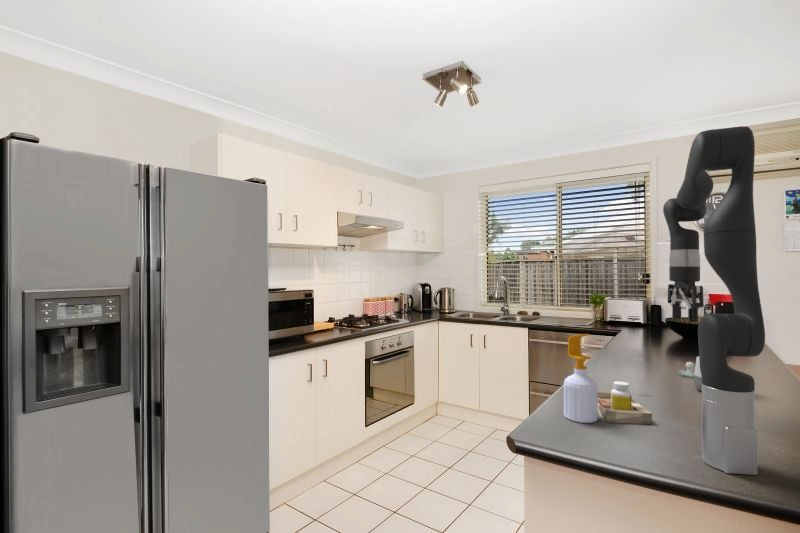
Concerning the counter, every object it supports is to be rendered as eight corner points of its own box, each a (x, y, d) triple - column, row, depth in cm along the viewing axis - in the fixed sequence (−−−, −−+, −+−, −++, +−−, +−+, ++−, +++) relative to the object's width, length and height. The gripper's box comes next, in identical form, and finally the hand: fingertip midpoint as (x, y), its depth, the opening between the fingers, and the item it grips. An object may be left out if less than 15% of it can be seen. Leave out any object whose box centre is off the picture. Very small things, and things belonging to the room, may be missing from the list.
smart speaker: (705, 387, 152) (705, 349, 152) (733, 394, 144) (733, 353, 144) (687, 390, 149) (687, 350, 149) (715, 397, 140) (715, 355, 140)
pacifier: (681, 374, 172) (678, 376, 168) (681, 359, 172) (678, 360, 168) (703, 377, 167) (700, 380, 163) (703, 362, 167) (700, 363, 163)
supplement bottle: (634, 420, 119) (634, 386, 119) (613, 419, 120) (613, 385, 120) (628, 414, 124) (628, 381, 124) (608, 412, 125) (608, 380, 125)
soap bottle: (577, 425, 115) (577, 336, 116) (557, 413, 124) (557, 331, 124) (604, 421, 118) (604, 334, 118) (582, 411, 127) (582, 330, 127)
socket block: (651, 424, 116) (651, 409, 116) (606, 422, 117) (606, 408, 117) (620, 400, 137) (620, 388, 137) (582, 399, 138) (582, 387, 138)
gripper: (713, 265, 116) (713, 323, 116) (684, 265, 130) (684, 317, 130) (684, 265, 117) (684, 323, 116) (658, 265, 131) (658, 317, 131)
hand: (684, 320), depth 123 cm, fingers open, 8 cm apart
